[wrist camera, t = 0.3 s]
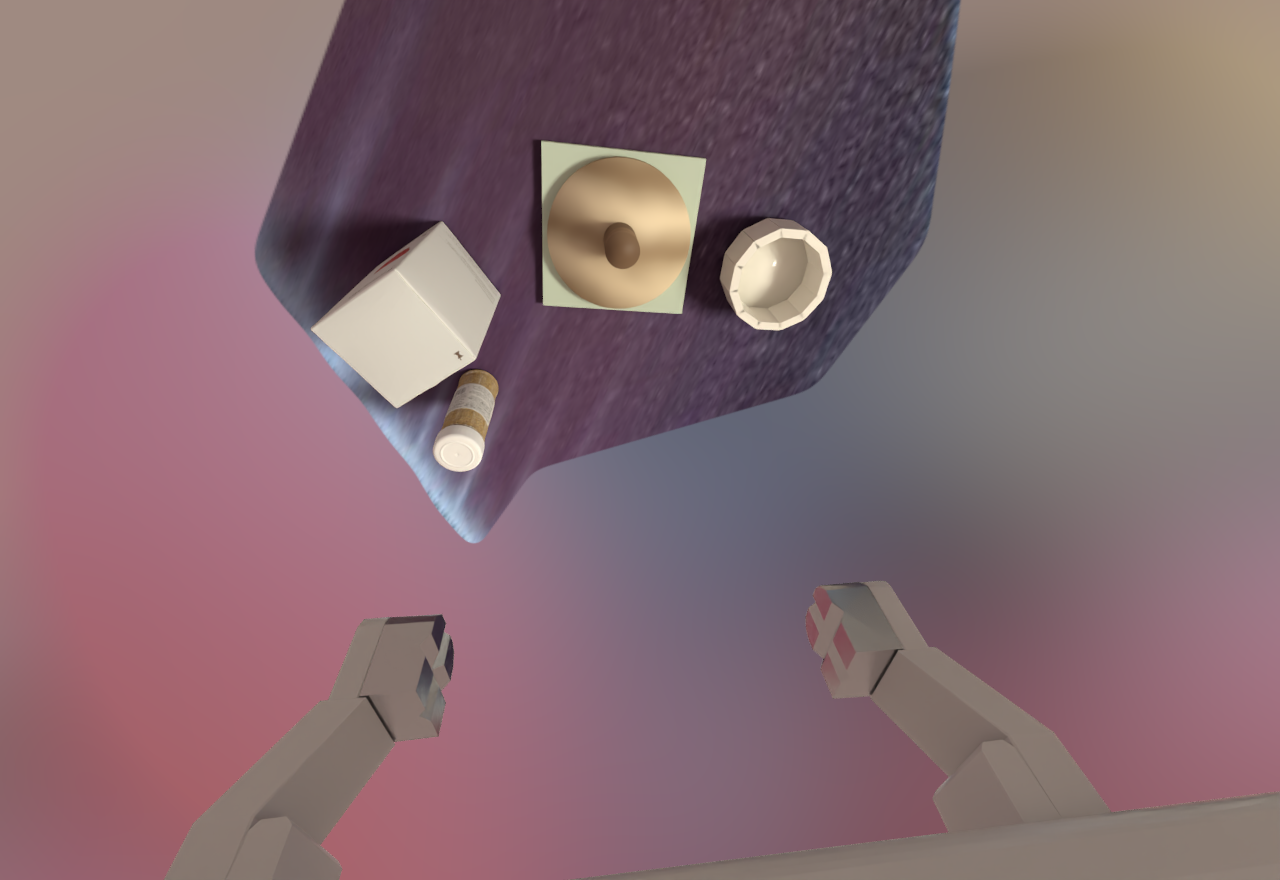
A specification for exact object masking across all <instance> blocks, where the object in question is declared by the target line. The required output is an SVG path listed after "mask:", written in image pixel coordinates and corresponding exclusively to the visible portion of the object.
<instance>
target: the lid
mask: <svg viewBox="0 0 1280 880" xmlns="http://www.w3.org/2000/svg"><path fill="white" fill-rule="evenodd" d="M690 238H691V229H690V220H689V215H688V211H687V208H686V205H685V203H684V201H683V198H682V196H681V195H680V193H679V191H678V190H677V188H676V187H675V186H674V184H673V183H672V182H671V181H670V180H669V179H668V178H667V177H666V176H665V175H664V174H663V173H662V172H661V171H659V170H658V169H657V168H655V167H654V166H652V165H650V164H648V163H646V162H644V161H641V160H638V159H635V158H630V157H620V156H614V157H606V158H602V159H598V160H595V161H593V162H590V163H588V164H586V165H584V166H583V167H581V168H580V169H578V170H577V171H576V172H574V173H573V174H572V175H571V176H570V177H569V178H568V179H567V180H566V181H565V183H564V184H563V185H562V187H561V188H560V190H559V191H558V193H557V195H556V197H555V199H554V201H553V204H552V207H551V210H550V214H549V219H548V226H547V240H548V248H549V253H550V256H551V259H552V262H553V264H554V266H555V269H556V271H557V272H558V274H559V275H560V277H561V279H562V280H563V281H564V282H565V284H566V285H567V286H568V287H569V288H570V289H571V290H572V291H573V292H574V293H576V294H577V295H578V296H580V297H581V298H583V299H585V300H586V301H588V302H590V303H593V304H595V305H598V306H602V307H606V308H614V309H624V308H632V307H636V306H640V305H642V304H645V303H647V302H649V301H651V300H653V299H655V298H657V297H658V296H659V295H661V294H662V293H663V292H664V291H666V290H667V289H668V288H669V287H670V286H671V284H672V283H673V282H674V281H675V280H676V278H677V277H678V275H679V274H680V272H681V270H682V268H683V266H684V264H685V261H686V258H687V256H688V251H689V247H690Z"/></svg>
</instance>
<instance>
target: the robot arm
mask: <svg viewBox="0 0 1280 880" xmlns="http://www.w3.org/2000/svg"><path fill="white" fill-rule="evenodd" d="M813 597H814V599H815V603H814V604H813V605H811V606H810V607H809V608H808V611H807V614H806V631H807V635H808V638H809V642H810V644H811V647H812V649H813V650H814V651H815V652H816V653H817V654H818V655H820V656H821V657H822V658H823V662H822V665H821V671H822V674H823V676H824V678H825V681H826V683H827V686H828V688H829V690H830V693H831V695H832V697H833V699H834V698H849V697H864V696H871V699H872V700H873V702H874V703H875V704H876V705H877V706H879V707H880V709H882V711H883V712H885V713H886V715H888V716H889V717H890V719H891V720H892V721H893V722H895V723H896V725H898V726H899V728H900V729H901V730H903V731H904V733H906V735H908V737H910V738H911V740H912V741H913V742H915V743H916V745H918V747H919V748H921V750H922V751H923V752H925V753H926V755H928V756H929V757H930V758H931V759H932V760H933V761H934V762H935V763H936V764H937V765H938V766H939V767H940V768H941V769H942V770H943V771H944V772H945V773H946V774H947V775H948V776H949V778H948V779H947V780H946V781H945V782H944V783H943V784H942V785H941V786H940V787H939V788H938V789H937V790H936V792H935V794H934V797H933V801H934V803H935V805H936V807H937V809H938V811H939V813H940V815H941V817H942V819H943V821H944V824H945V825H946V827H947V830H948V832H949V833H941V834H934V835H925V836H917V837H910V838H901V839H893V840H885V841H877V842H869V843H862V844H854V845H845V846H837V847H829V848H821V849H813V850H805V851H797V852H789V853H781V854H773V855H765V856H757V857H749V858H741V859H732V860H724V861H716V862H709V863H700V864H692V865H685V866H676V867H669V868H660V869H653V870H645V871H636V872H628V873H620V874H613V875H604V876H597V877H588V878H580V879H572V880H1280V792H1270V793H1262V794H1254V795H1246V796H1238V797H1230V798H1222V799H1214V800H1206V801H1198V802H1191V803H1183V804H1174V805H1167V806H1158V807H1150V808H1142V809H1134V810H1126V811H1118V812H1111V811H1110V809H1109V808H1108V807H1107V805H1106V804H1105V802H1104V801H1103V800H1102V798H1101V797H1100V795H1099V794H1098V793H1097V791H1096V790H1095V789H1094V787H1093V786H1092V784H1091V783H1090V782H1089V780H1088V779H1087V777H1086V776H1085V775H1084V773H1083V772H1082V771H1081V769H1080V768H1079V767H1078V765H1077V764H1076V762H1075V761H1074V760H1073V758H1072V757H1071V755H1070V754H1069V753H1068V751H1067V750H1066V749H1065V747H1064V746H1063V744H1062V743H1061V742H1060V740H1059V739H1058V737H1057V736H1056V735H1055V733H1054V732H1052V731H1051V730H1050V729H1048V728H1047V727H1045V726H1044V725H1043V724H1041V723H1040V722H1039V721H1037V720H1036V719H1034V718H1033V717H1032V716H1030V715H1029V714H1027V713H1026V712H1025V711H1023V710H1022V709H1020V708H1019V707H1018V706H1016V705H1015V704H1014V703H1012V702H1011V701H1009V700H1008V699H1007V698H1005V697H1004V696H1002V695H1001V694H1000V693H998V692H997V691H995V690H994V689H993V688H991V687H990V686H988V685H987V684H986V683H984V682H982V680H980V679H979V678H977V677H976V676H975V675H973V674H972V673H970V672H969V671H968V670H966V669H965V668H963V667H962V666H961V665H959V664H958V663H957V662H955V661H954V660H952V659H951V658H949V657H948V656H947V655H945V654H944V653H943V652H941V651H940V650H938V649H937V648H936V647H928V645H927V644H926V642H925V641H924V639H923V637H922V636H921V634H920V633H919V631H918V629H917V628H916V626H915V625H914V623H913V622H912V620H911V618H910V617H909V615H908V614H907V612H906V610H905V609H904V607H903V605H902V604H901V602H900V601H899V599H898V597H897V596H896V594H895V593H894V591H893V589H892V588H891V586H890V585H889V584H888V583H887V582H885V581H873V582H863V583H861V582H854V583H843V584H833V585H822V586H818V587H817V588H816V589H815V591H814V594H813ZM445 625H446V623H445V620H444V618H443V616H442V614H439V615H424V616H423V615H422V616H407V617H386V618H373V619H364V620H363V621H362V623H361V624H360V625H359V626H358V628H357V630H356V632H355V635H354V637H353V640H352V642H351V645H350V647H349V650H348V652H347V655H346V657H345V659H344V662H343V664H342V667H341V669H340V672H339V675H338V677H337V679H336V682H335V684H334V687H333V689H332V692H331V694H330V697H329V699H328V700H325V701H320V702H319V703H318V704H317V705H316V706H314V707H313V708H312V709H311V710H310V711H309V712H308V713H307V714H306V715H305V716H304V717H303V718H302V719H301V720H300V721H299V722H298V723H297V724H296V725H295V726H294V727H293V728H292V729H291V730H290V731H289V732H287V733H286V734H285V736H283V738H281V739H280V740H279V741H278V742H277V743H276V744H275V745H274V746H273V747H272V748H271V749H270V750H269V751H268V752H267V753H266V754H265V755H264V756H263V757H262V758H261V759H260V760H259V761H258V762H257V763H256V764H254V765H253V766H252V767H251V768H250V769H249V770H248V771H247V772H246V773H245V774H244V775H243V776H242V777H241V778H240V779H239V780H238V781H237V782H236V783H235V784H234V785H233V786H232V787H231V788H229V790H227V791H226V792H225V793H224V794H223V795H222V796H221V797H220V798H219V799H218V800H217V801H216V802H215V803H214V804H213V805H212V806H211V807H210V808H209V809H208V810H207V811H206V812H205V813H204V814H203V815H201V816H200V817H199V818H198V819H197V820H196V821H195V822H194V823H193V825H192V827H191V829H190V831H189V833H188V835H187V836H186V839H185V840H184V842H183V844H182V846H181V848H180V850H179V852H178V854H177V856H176V857H175V860H174V861H173V863H172V865H171V867H170V869H169V871H168V873H167V875H166V877H165V879H164V880H339V878H340V874H341V871H342V868H341V866H340V864H339V862H338V860H336V859H335V858H334V857H333V856H332V855H331V854H330V853H328V852H327V851H326V850H325V849H324V848H323V847H321V846H320V845H321V843H322V842H323V841H324V839H325V838H326V837H327V835H328V834H329V833H330V831H331V830H332V828H333V827H334V826H335V824H336V823H337V822H338V820H339V819H340V818H341V816H342V815H343V814H344V812H345V811H346V810H347V808H348V807H349V806H350V804H351V803H352V802H353V800H354V799H355V798H356V796H357V795H358V794H359V792H360V791H361V790H362V788H363V787H364V786H365V784H366V783H367V781H368V780H369V779H370V778H371V776H372V774H373V773H374V772H375V771H376V769H377V768H378V767H379V765H380V764H381V763H382V761H383V760H384V759H385V757H386V756H387V755H388V753H389V752H390V750H391V749H392V748H393V747H394V745H395V743H394V742H397V741H405V740H413V739H421V738H429V737H438V736H439V731H440V727H441V722H442V718H443V713H444V708H445V704H446V702H445V700H444V697H443V695H442V692H441V691H442V690H443V689H444V687H445V686H446V685H447V684H448V683H449V682H450V680H451V675H452V670H453V660H454V649H453V642H452V639H451V636H450V635H448V634H446V633H445V632H444V629H445Z"/></svg>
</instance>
